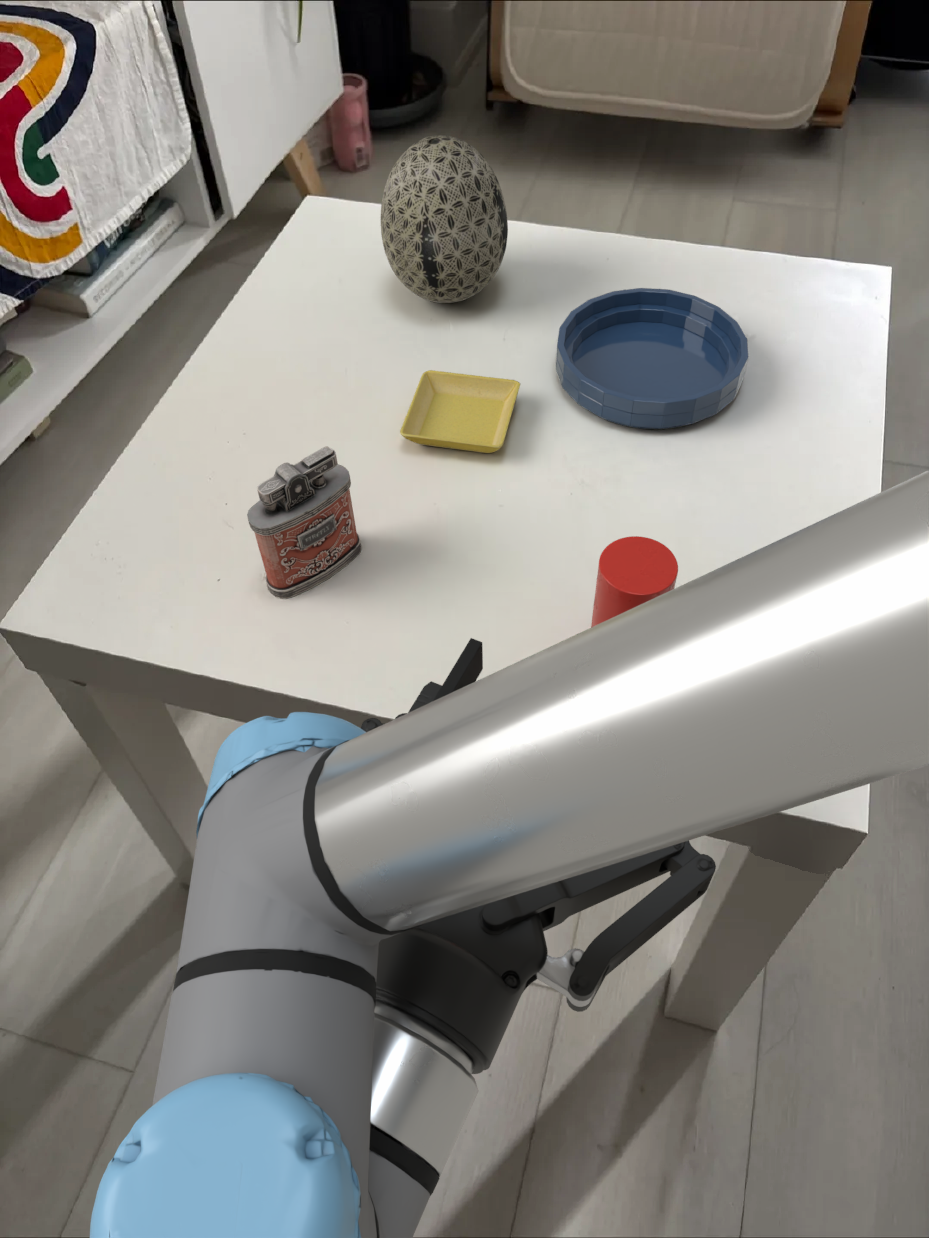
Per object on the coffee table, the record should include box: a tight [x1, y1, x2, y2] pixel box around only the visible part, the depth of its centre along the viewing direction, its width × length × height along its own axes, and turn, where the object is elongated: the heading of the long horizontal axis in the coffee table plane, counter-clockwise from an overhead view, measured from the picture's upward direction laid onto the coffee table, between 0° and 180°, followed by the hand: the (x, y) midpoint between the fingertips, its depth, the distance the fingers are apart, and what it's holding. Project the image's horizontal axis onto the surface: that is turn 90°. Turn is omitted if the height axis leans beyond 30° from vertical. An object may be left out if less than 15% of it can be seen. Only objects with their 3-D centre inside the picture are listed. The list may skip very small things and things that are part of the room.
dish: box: [555, 287, 749, 430], centre depth 85 cm, size 16×16×4 cm
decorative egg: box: [380, 134, 509, 304], centre depth 89 cm, size 12×12×15 cm
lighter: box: [246, 446, 363, 600], centre depth 69 cm, size 8×3×10 cm, turn 131°
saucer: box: [399, 369, 521, 454], centre depth 82 cm, size 9×9×2 cm
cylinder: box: [590, 535, 679, 628], centre depth 63 cm, size 5×5×10 cm
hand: (582, 692), depth 56 cm, fingers open, 13 cm apart
